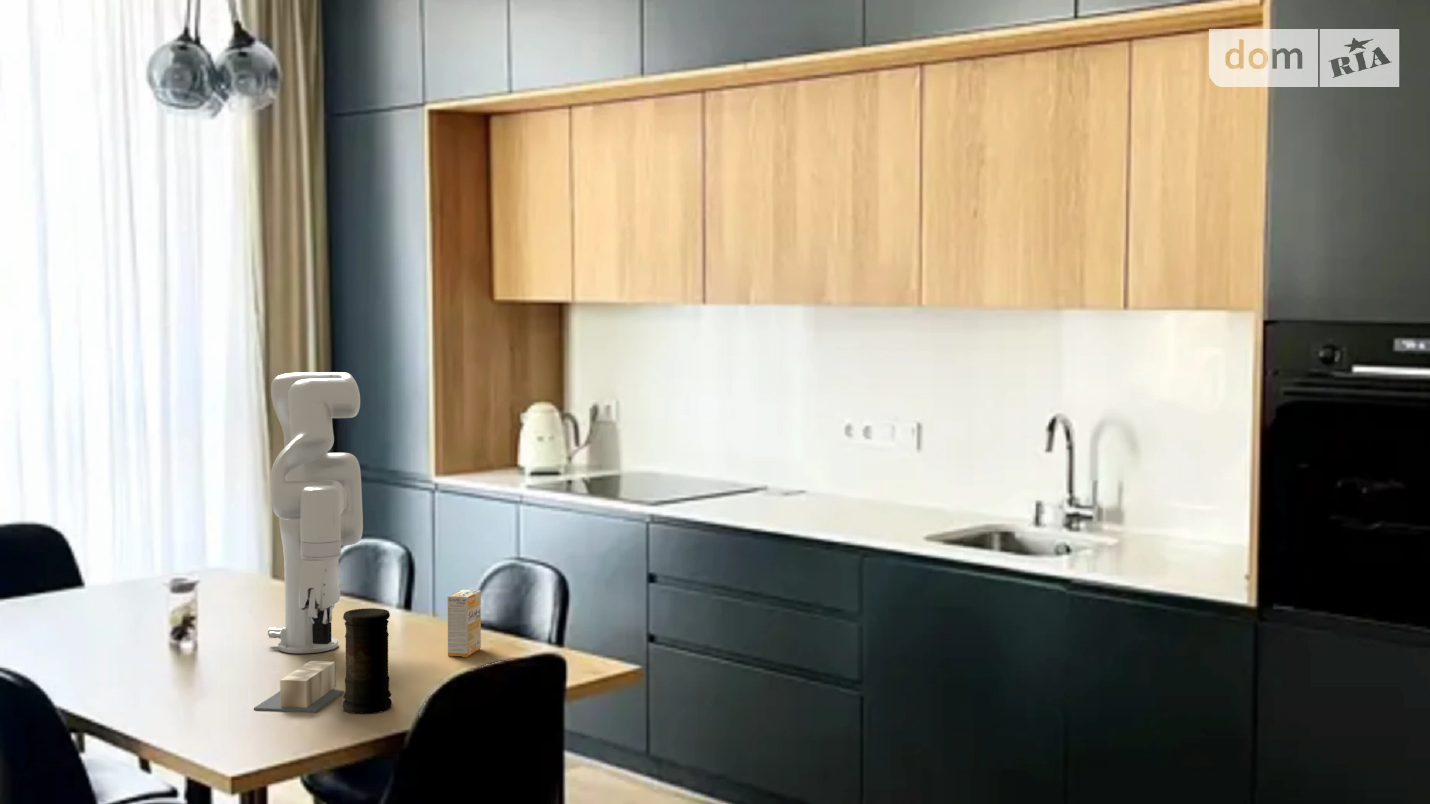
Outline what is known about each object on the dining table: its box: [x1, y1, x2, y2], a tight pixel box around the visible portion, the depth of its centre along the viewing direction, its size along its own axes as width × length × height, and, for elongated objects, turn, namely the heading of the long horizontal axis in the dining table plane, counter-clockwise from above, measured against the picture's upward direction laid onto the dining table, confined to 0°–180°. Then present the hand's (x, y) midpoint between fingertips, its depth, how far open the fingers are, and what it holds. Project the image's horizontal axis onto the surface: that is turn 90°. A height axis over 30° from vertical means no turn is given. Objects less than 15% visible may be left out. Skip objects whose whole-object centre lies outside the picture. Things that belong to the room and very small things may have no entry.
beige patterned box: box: [279, 660, 337, 708], centre depth 281 cm, size 5×5×15 cm
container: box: [341, 607, 393, 715], centre depth 275 cm, size 9×9×18 cm
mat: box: [253, 689, 345, 713], centre depth 279 cm, size 12×14×1 cm
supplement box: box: [447, 589, 482, 658], centre depth 318 cm, size 8×5×13 cm, turn 168°
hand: (322, 642), depth 288 cm, fingers closed
